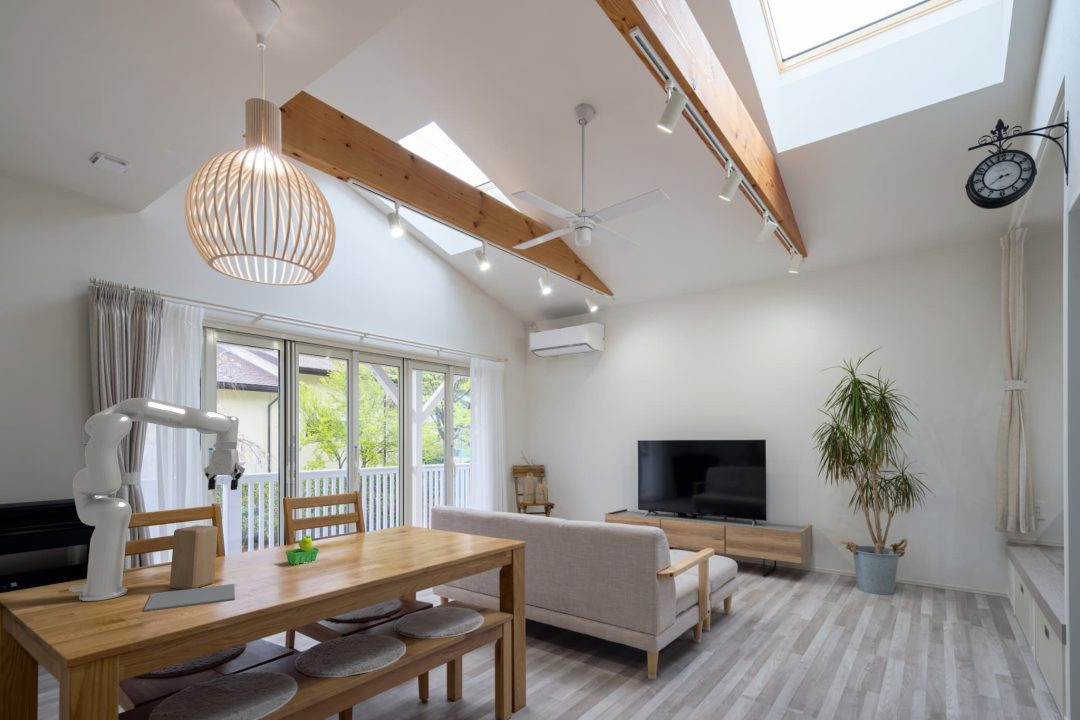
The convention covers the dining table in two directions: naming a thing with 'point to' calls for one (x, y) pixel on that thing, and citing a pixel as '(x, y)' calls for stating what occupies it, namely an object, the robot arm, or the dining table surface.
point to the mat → (190, 597)
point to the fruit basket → (303, 552)
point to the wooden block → (193, 557)
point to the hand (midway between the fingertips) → (222, 489)
